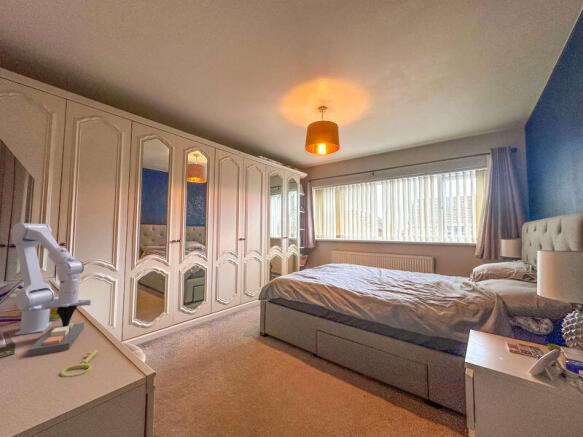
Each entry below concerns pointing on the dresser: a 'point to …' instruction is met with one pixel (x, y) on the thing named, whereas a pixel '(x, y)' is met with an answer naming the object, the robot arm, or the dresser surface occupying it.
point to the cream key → (60, 331)
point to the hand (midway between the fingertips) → (65, 325)
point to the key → (80, 365)
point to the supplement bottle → (54, 312)
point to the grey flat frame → (62, 346)
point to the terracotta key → (53, 340)
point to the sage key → (68, 325)
